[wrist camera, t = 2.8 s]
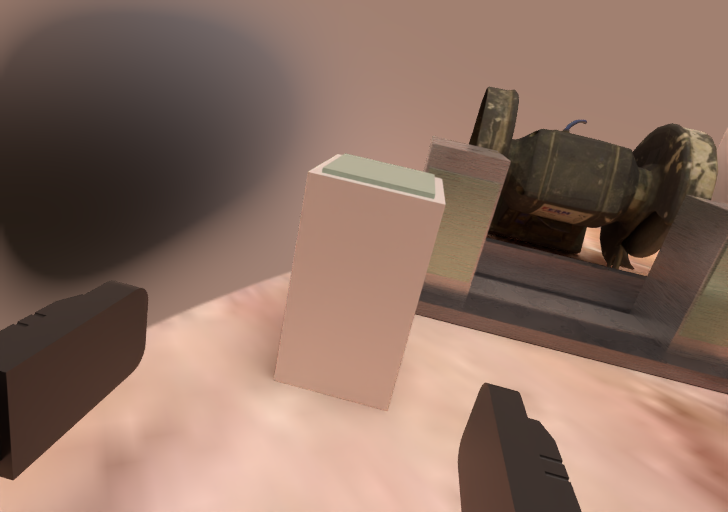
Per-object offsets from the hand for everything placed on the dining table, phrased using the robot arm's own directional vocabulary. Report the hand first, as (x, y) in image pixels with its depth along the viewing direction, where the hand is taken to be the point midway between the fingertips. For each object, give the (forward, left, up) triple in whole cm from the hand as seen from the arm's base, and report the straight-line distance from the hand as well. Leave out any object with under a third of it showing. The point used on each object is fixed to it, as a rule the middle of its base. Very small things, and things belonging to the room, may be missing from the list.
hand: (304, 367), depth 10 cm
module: (0, -12, -7) cm, 14 cm away
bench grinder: (-17, -43, -7) cm, 47 cm away
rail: (-14, -24, -7) cm, 28 cm away
